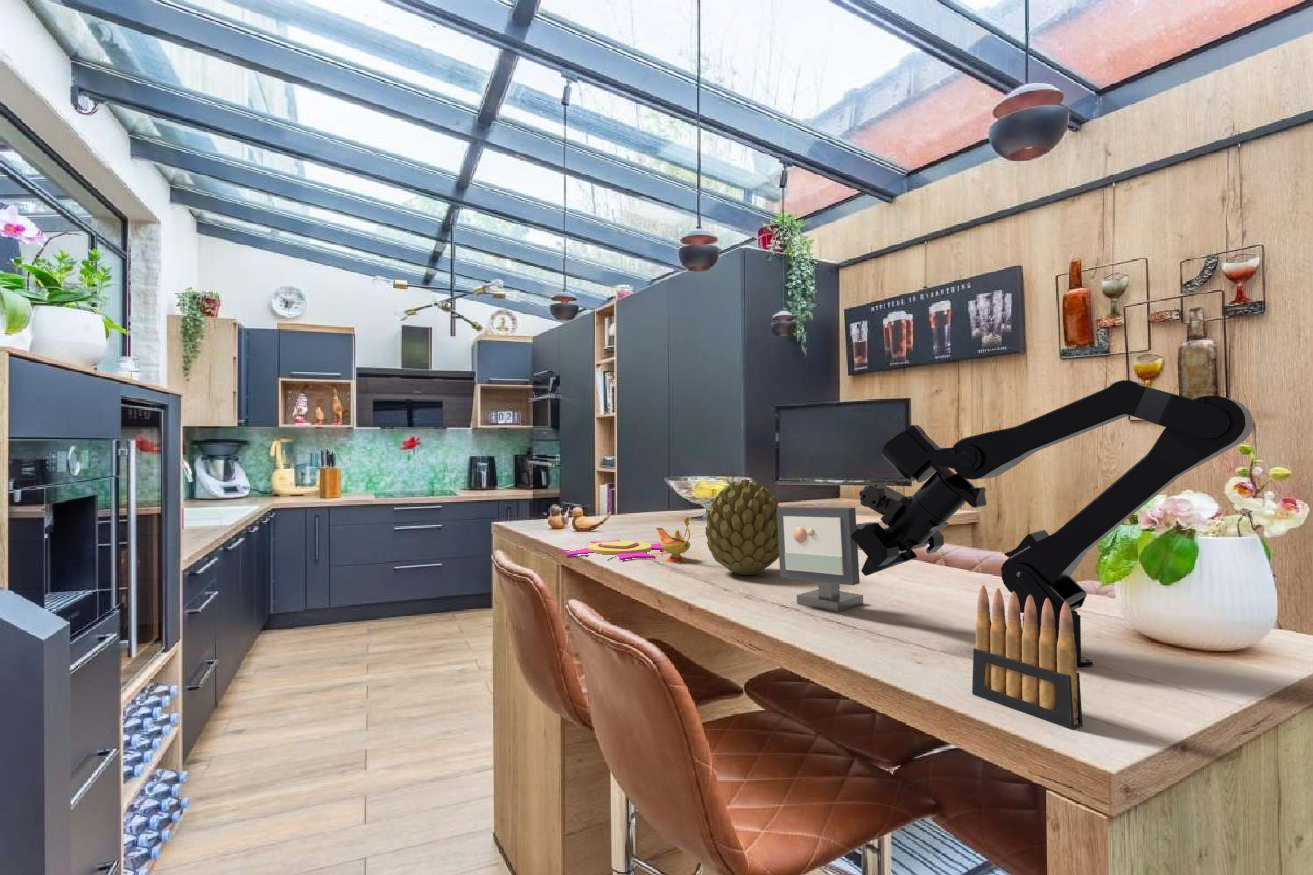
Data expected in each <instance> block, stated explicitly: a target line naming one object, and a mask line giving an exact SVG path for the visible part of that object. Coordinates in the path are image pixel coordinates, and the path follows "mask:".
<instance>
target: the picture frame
mask: <svg viewBox="0 0 1313 875" xmlns="http://www.w3.org/2000/svg"><path fill="white" fill-rule="evenodd" d="M856 514H857V513H856V507H850V506H849V507H846V506H845V507H844V506H841V507H839V506H837V507H836V506H834V507H833V506H780V507H779V506H778V507H777V525H778V544H779V558H778V559H779V577H780V578H783V579H792V580H801V581H809V582H817V583H818V582H826V583H835V584H840V585H843V586H844V585H846V586H856V585H859V584H860V582H861V581H860V570H859V569H860V568H859V566H860V565H859V550H858V548H859V546H858V544H857V543H856V542H855V541H854V540H853V538H852V537H851V536H850V532H851V531H852V530H853V529H854V528H855V527H856V526H857V515H856Z"/></svg>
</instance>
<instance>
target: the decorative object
mask: <svg viewBox="0 0 1313 875" xmlns="http://www.w3.org/2000/svg"><path fill="white" fill-rule="evenodd" d="M777 507H781V506H780V505H779V502H778V500H777V499H776V497H775V496H774V495H773V496H772V494H771V492H770V491H769V489H768V488H766V487H765V486H764V485H762V486H761V483H759V482H757V481H755V480H753V481H750V480H749V479H740V481H737V482H736V481H732V482H730V483H729V484H728V485H727V486H726V487H724V488H723V489H721V490H720V491H719V493H718V494H717V495H715V498H714V499H713V501H712V502H711V505H710V510H709V509H708V512H707V516H706V526H705V536H706V539H707V541H706V544H707V546H708V550H709V552H710V553H711V555H712V558H713V559H714V560H715V561H716V562H717V563H718V564H720V565H721V566H723V567H724V568H726V569H727V570H728V571H729V572H732V573H734V574H737V575H740V576H753V575H756V574H759V573H761V572H762V571H763V570H766V568H768V567H770V566H772V564H774V562H776V561H777V560H778V559H779V544H778V525H777Z"/></svg>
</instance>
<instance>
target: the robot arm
mask: <svg viewBox="0 0 1313 875" xmlns="http://www.w3.org/2000/svg"><path fill="white" fill-rule="evenodd" d="M1128 416H1129V417H1134V418H1137V419H1140V420H1142V421H1145V422H1146V421H1147V422H1148V423H1150V424H1155V425H1157V426H1161V427H1164V429H1163V431H1162V432H1161V433H1160V435H1159V437H1158V438H1157V439H1156V441H1155V442H1154V444H1153V445H1152V448H1150V450H1149V451H1148V453H1146V455H1144V456H1143V457H1142V458H1140V460H1138V461H1137V462H1136V463H1135V464H1134V465H1133V466H1132V467H1131V468H1129V469H1128V470H1127V471H1125V473H1123V474H1122V475H1121V476H1120V477H1118V479H1116V480H1115V481H1114V482H1113V483H1112V484H1111V485H1109V486H1108V487H1107V488H1106V489H1104V491H1103V492H1101V493H1100V494H1099V495H1098V496H1096V497H1095V498H1094V499H1093V500H1092V501H1091V502H1090V503H1088V504H1086V506H1085V507H1084V508H1082V509H1081V510H1080V511H1078V513H1076V514H1075V516H1073V517H1072V518H1071V519H1069V521H1067V522H1066V523H1065V524H1064V525H1063V526H1061V527H1060V528H1059V529H1058V530H1056V531H1055V532H1053V533H1052V534H1049V533H1048V532H1047V531H1046V529H1042V530H1038V531H1034V532H1031V533H1027V535H1026V536H1025V537H1024V538H1023V539H1022V540H1021V541H1020V543H1019V544H1018V545H1017V546H1016V547H1015V548H1014V549H1012V550H1011V551H1007V552H1005V553H1004V556H1006V557H1008V558H1006V560H1004V562H1003V564H1002V565H1001V567H1000V571H1001V573H1000V574H1001V580H1002V584H1003V585H1004V587H1005V588H1006V589H1007V590H1008V592H1010V593H1011V594H1012V592H1013V591H1014V592H1015V593H1016V595H1017V597H1018V601H1019V605H1020V614H1023V615H1022V627H1023V626H1024V610H1025V604H1026V600H1027V597H1028V596H1029V595H1032V597H1033V599H1034V602H1035V606H1036V612H1037V623H1038V633H1039V637H1040V634H1041V616H1042V608H1043V605H1044V602H1045V600H1046V598H1049V600H1050V602H1051V604H1052V607H1053V612H1054V619H1055V632H1056V638H1057V643H1058V638H1059V620H1060V613H1061V609H1062V606H1063V604H1064V602H1067V603H1068V604H1069V607H1070V610H1071V613H1072V619H1073V631H1074V640H1075V645H1076V658H1077V667H1081V666H1082V667H1083V666H1094V660H1091V659H1090V658H1087V657H1086V656H1085V657H1084V656H1082V633H1081V632H1082V631H1081V630H1082V629H1081V628H1082V626H1081V624H1082V623H1081V622H1082V621H1081V615H1080V614H1078V611H1076V610H1077V609H1080V608H1082V607H1083V605H1084V602H1085V601H1086V598H1087V595H1088V594H1087V591H1086V590H1085V589H1083V588H1082V587H1081V585H1080V584H1079V583H1077V581H1075V579H1073V577H1071V575H1073V573H1074V572H1075V570H1076V569H1077V568H1078V566H1079V565H1080V563H1081V562H1082V560H1083V559H1084V557H1085V556H1086V554H1087V553H1088V552H1089V551H1090V550H1091V549H1093V547H1095V546H1096V545H1098V543H1100V542H1101V541H1102V540H1103V539H1104V538H1106V537H1107V536H1109V534H1111V533H1112V532H1113V531H1115V529H1117V528H1118V527H1119V526H1121V525H1122V524H1123V523H1124V522H1126V521H1128V519H1129V518H1130V517H1132V516H1133V515H1134V514H1135V513H1137V512H1138V511H1139V510H1140V509H1142V508H1143V507H1144V506H1146V505H1147V504H1148V503H1149V502H1151V501H1152V500H1153V499H1154V498H1155V497H1156V496H1158V495H1159V494H1160V493H1161V492H1162V491H1164V490H1165V489H1166V488H1168V487H1169V486H1170V485H1171V484H1173V483H1174V482H1175V481H1176V480H1178V479H1179V478H1180V477H1181V476H1182V475H1184V474H1187V473H1188V472H1190V471H1193V470H1194V469H1195V468H1197V467H1200V466H1202V465H1203V464H1205V463H1208V462H1209V461H1212V460H1214V458H1217V457H1219V456H1220V455H1222V454H1224V453H1226V452H1228V451H1229V450H1231V449H1234V447H1235V448H1236V446H1238V445H1240V444H1241V443H1244V441H1246V439H1248V437H1249V436H1250V435H1251V433H1252V431H1253V428H1254V419H1253V416H1252V414H1251V412H1250V410H1249V409H1248V407H1246V406H1245V404H1243V403H1241V402H1240V401H1237V400H1235V399H1234V398H1233V399H1232V398H1229V397H1223V396H1220V395H1219V396H1218V395H1203V396H1199V397H1196V398H1195V397H1194V398H1190V397H1187V396H1184V395H1178V394H1175V393H1171V392H1168V391H1164V390H1160V389H1157V388H1152V387H1149V386H1147V385H1145V384H1143V383H1141V382H1138V381H1134V380H1130V379H1122V380H1118V381H1115V382H1113V383H1111V384H1110V385H1109V386H1107V387H1106V388H1104V389H1102V390H1099V391H1097V392H1094V393H1092V394H1089V395H1087V396H1085V397H1082V398H1080V399H1078V400H1075V401H1073V402H1071V403H1068V404H1065V405H1064V406H1061V407H1059V408H1055V410H1052V411H1049V412H1047V413H1044V414H1043V415H1040V416H1037V417H1035V418H1033V419H1031V420H1028V421H1025V422H1023V423H1021V424H1019V425H1016V426H1012V427H1008V428H1003V429H999V430H993V431H988V432H984V433H979V434H976V435H971V436H967V437H964V438H963V437H962V438H960V440H957V441H956V443H954V445H953V446H952V447H940V446H939V445H938V444H937V443H936V442H935V441H934V440H933V439H931V438H930V437H929V436H928V435H927V433H926V431H925V430H924V429H923V428H922V427H921V426H920V425H918V424H910V425H909V427H908V428H907V429H906V430H903V431H901V432H899V433H898V434H897V435H895V436H894V437H893V438H891V439H889V440H888V441H886V443H885V445H883V447H882V450H881V452H880V453H881V456H882V457H883V459H885V460H886V461H887V462H888V464H890V465H891V466H892V467H893V469H895V471H896V472H897V473H898V474H899V475H900V476H901V477H903V479H904V480H905V481H906V482H907V483H912V482H915V481H916V482H917V483H919V484H920V483H922V482H924V483H923V484H922V485H921V486H920V487H919V488H918V489H917V490H916V491H915V492H914V493H913V494H912V496H910V495H909V496H907V495H906V496H905V495H904V494H902V493H901V492H898V491H896V490H895V489H892V488H891V487H889V486H887V485H884V484H883V483H871V484H870V483H869V484H867V485H865V486H864V487H863V489H862V490H860V491H859V492H858V494H859V496H860V498H859V500H860V505H861V506H863V507H864V508H869V509H870V510H872V511H874V512H876V513H877V514H880V515H881V516H882V517H880V521H881V522H882V523H883V524H884V525H885V526H888V527H886V528H883V527H882V526H881V525H880V523H879V522H870V521H869V522H864V523H857V524H856V527H855V528H854V529H853V530H852V531H851V532H850V536H851V537H852V538H853V540H854V541H855V542H856V543H857V546H858V548H860V549H861V551H863V553H864V554H865V555H866V556H867V557H866V559H865V562H864V564H863V566H862V568H861V572H862V574H863V575H864V576H866V577H867V576H870V575H874V574H877V573H879V572H881V571H884V570H888V569H889V568H893V567H895V566H898V565H901V564H903V563H906V562H909V561H912V560H915V559H917V558H918V556H917V554H916V552H914V550H916V549H920V548H925V547H926V550H925V552H926V553H927V554H928V555H929V554H933V553H937V552H938V551H939V550H940V549H941V548H942V547H943V546H944V545H945V538H944V534H942V532H940V531H939V530H942V529H945V528H947V526H948V525H949V523H948V520H949V519H951V517H952V516H954V515H955V514H956V513H957V512H958V511H959V510H960V509H961V508H962V507H963V506H964V505H965V504H966V503H967V504H968V505H969V506H970V507H971V508H972V509H975V508H981V507H986V506H987V499H986V498H987V497H986V495H985V494H986V487H983V486H982V487H978V486H977V487H976V486H975V485H974V484H973V483H972V482H971V481H970V480H972V481H973V480H983V479H992V478H996V477H998V476H1001V475H1003V474H1004V473H1006V472H1007V471H1009V470H1010V469H1012V468H1014V467H1016V466H1018V465H1019V464H1020V463H1022V462H1023V461H1025V459H1027V458H1028V457H1030V456H1032V455H1033V454H1035V453H1037V452H1038V451H1041V450H1044V449H1047V448H1048V447H1051V446H1054V445H1056V444H1059V443H1061V442H1062V443H1063V442H1064V441H1067V440H1069V439H1072V438H1074V437H1077V436H1080V435H1082V434H1085V433H1087V432H1090V431H1092V430H1095V429H1098V428H1100V427H1102V426H1103V427H1104V426H1105V425H1109V424H1111V423H1113V422H1116V421H1118V420H1121V419H1124V418H1126V417H1128ZM951 469H952V470H953V471H955V472H953V471H952V470H951ZM927 545H929V546H928V547H927Z"/></svg>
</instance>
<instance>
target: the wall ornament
mask: <svg viewBox="0 0 1313 875" xmlns="http://www.w3.org/2000/svg"><path fill="white" fill-rule="evenodd" d="M589 542H591V543H593V544H591V545H589V544H588V545H587V546H588V548H584V549H581V550H576V551H570V550H563V549H564V548H560V549H558V550H559V551H558V552H559V553H561V554H563V553H562V551H570V552H569V553H568V554H566V558H575V557H574V556H575V555H578V554H588V553H596V554H602V555H617V556H618V557H619V559H620V560H625V559H632V558H655V559H656V556H654V555H662V556H663V555H664V554H663V553H665V554H669V553H668V552H666V551H664V552H661V553H654V554H651V555H650V554H647V552H650V551H651V550H664V549H663V548H662V546H661V542H659V543H647V542H641V541H632V540H623V541H622V540H620V539H614V540H608V541H599V540H598V541H592V540H591V541H588V543H589ZM619 559H618V560H619ZM620 560H619V561H620Z"/></svg>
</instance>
